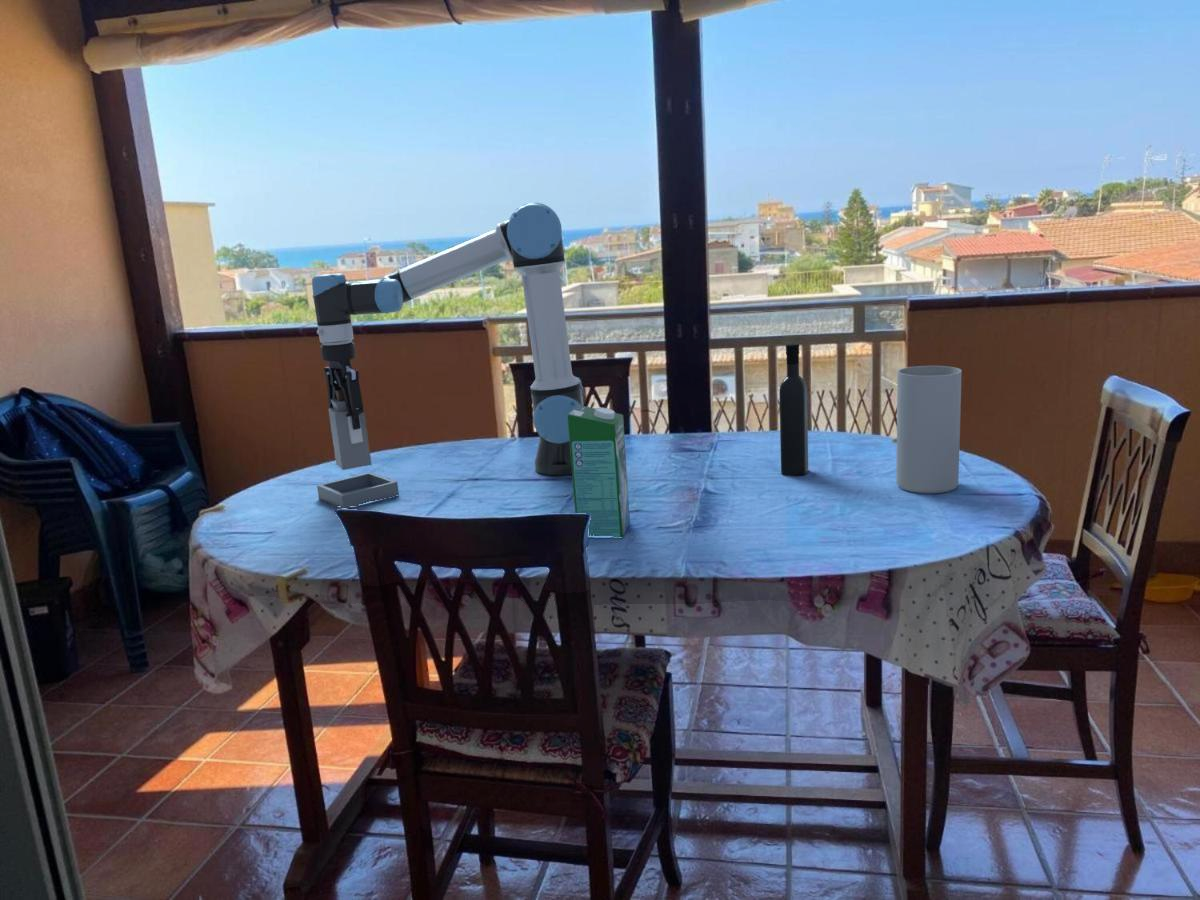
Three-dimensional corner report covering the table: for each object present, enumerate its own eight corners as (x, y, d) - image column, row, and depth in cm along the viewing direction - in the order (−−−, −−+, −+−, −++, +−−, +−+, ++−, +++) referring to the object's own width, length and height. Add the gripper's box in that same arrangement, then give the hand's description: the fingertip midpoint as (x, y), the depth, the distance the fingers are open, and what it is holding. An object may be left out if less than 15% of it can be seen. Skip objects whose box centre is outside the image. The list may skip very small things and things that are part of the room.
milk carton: (622, 538, 175) (613, 412, 169) (577, 538, 176) (567, 413, 170) (630, 523, 183) (622, 402, 177) (586, 523, 185) (577, 404, 179)
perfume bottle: (342, 470, 209) (331, 393, 205) (336, 464, 215) (325, 390, 210) (371, 464, 212) (361, 389, 208) (364, 459, 218) (354, 385, 213)
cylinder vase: (967, 482, 194) (971, 367, 187) (943, 498, 185) (946, 377, 179) (911, 475, 202) (913, 364, 196) (886, 489, 193) (887, 374, 187)
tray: (399, 495, 214) (397, 481, 214) (343, 510, 206) (341, 495, 205) (372, 485, 225) (370, 472, 224) (319, 499, 216) (316, 485, 216)
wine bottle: (780, 475, 209) (777, 346, 202) (784, 468, 214) (782, 342, 207) (805, 476, 207) (803, 346, 199) (809, 469, 212) (807, 342, 204)
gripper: (304, 342, 211) (318, 438, 217) (339, 347, 197) (353, 449, 203) (335, 338, 216) (348, 432, 221) (370, 342, 201) (383, 442, 207)
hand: (350, 440), depth 212 cm, fingers closed on perfume bottle, 6 cm apart
